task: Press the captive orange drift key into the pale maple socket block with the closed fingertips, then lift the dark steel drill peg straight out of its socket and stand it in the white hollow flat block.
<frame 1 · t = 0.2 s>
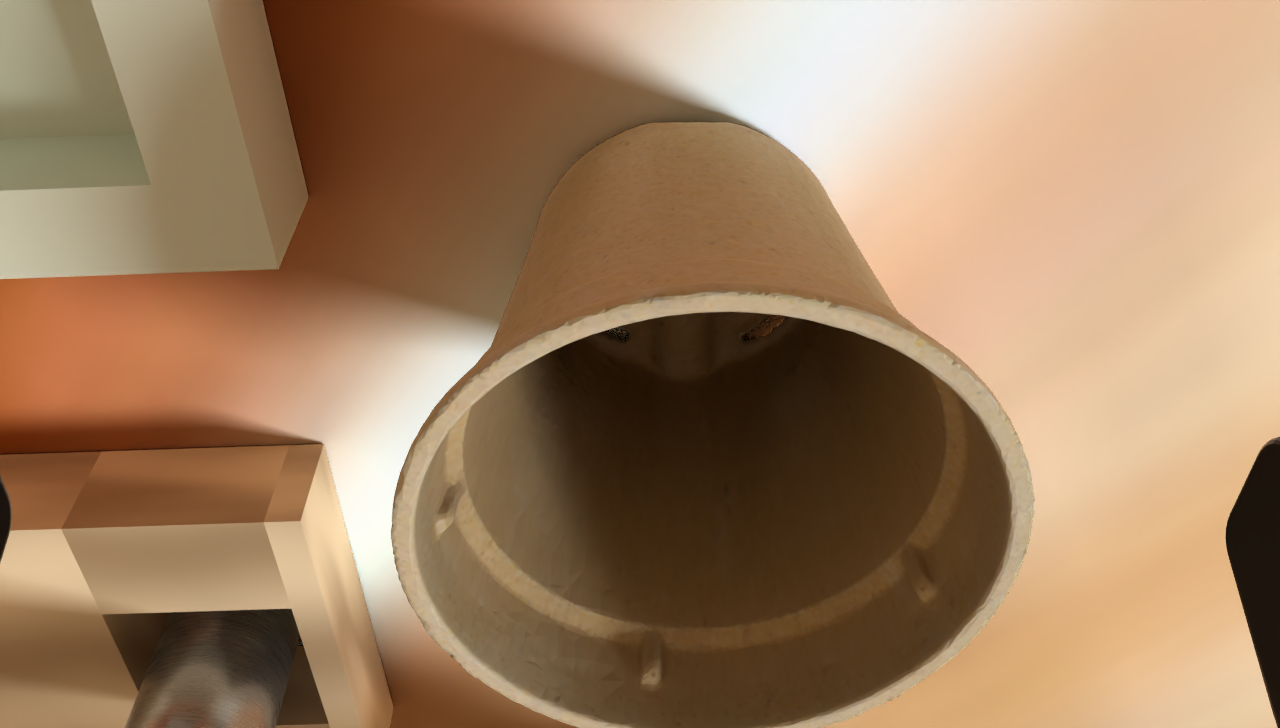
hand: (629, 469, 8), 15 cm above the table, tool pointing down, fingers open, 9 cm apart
socket block: (73, 598, 31), on the table
flower pot: (686, 241, 25), on the table
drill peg: (246, 592, 31), resting in socket block
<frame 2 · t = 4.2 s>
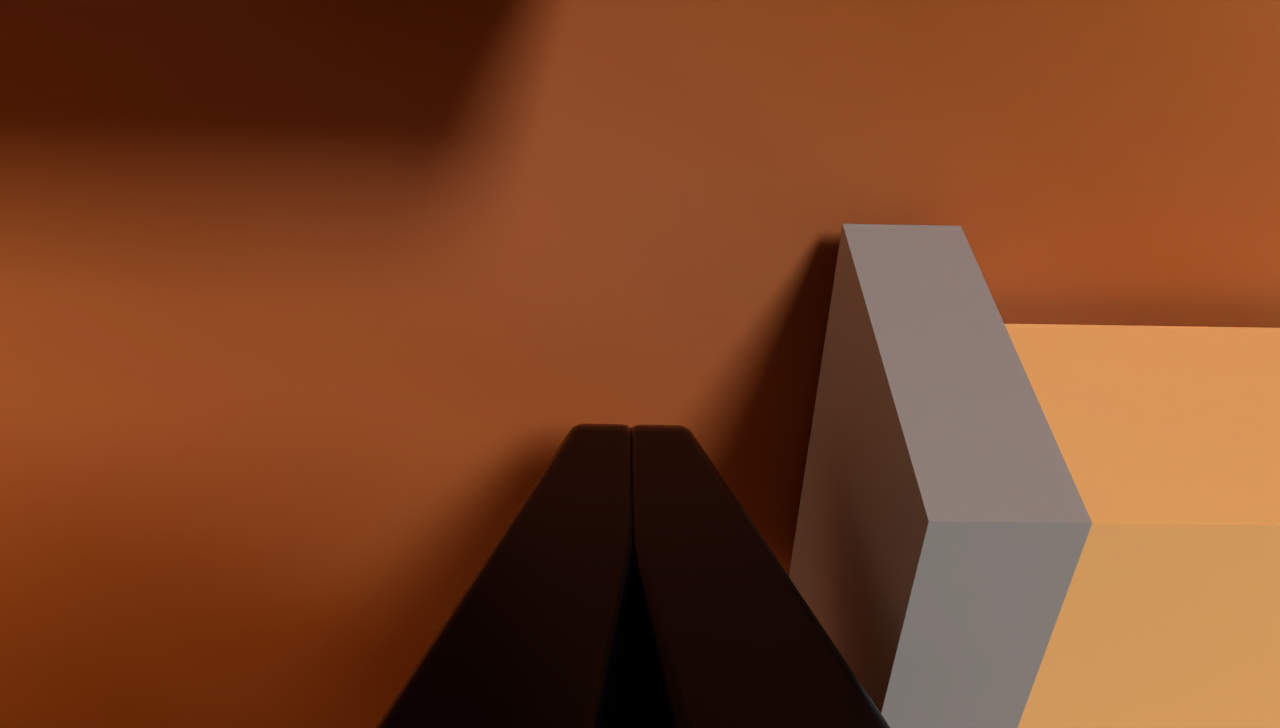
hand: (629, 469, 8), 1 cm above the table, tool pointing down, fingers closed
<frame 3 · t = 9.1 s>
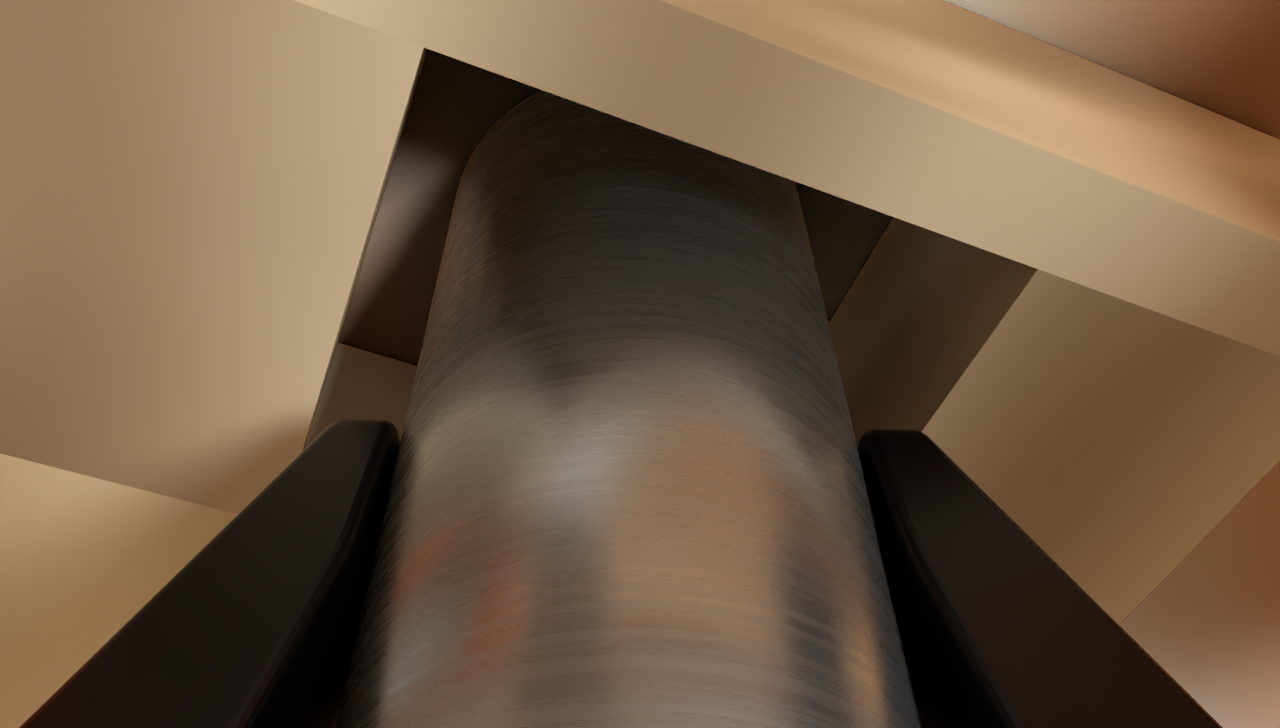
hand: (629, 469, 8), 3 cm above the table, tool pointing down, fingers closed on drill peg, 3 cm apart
socket block: (483, 550, 13), on the table
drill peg: (627, 233, 11), resting in socket block, touching gripper
when the fingers open (5 cm above the table, at t = 13.0 s): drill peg stays where it is, resting on white hollow flat block.
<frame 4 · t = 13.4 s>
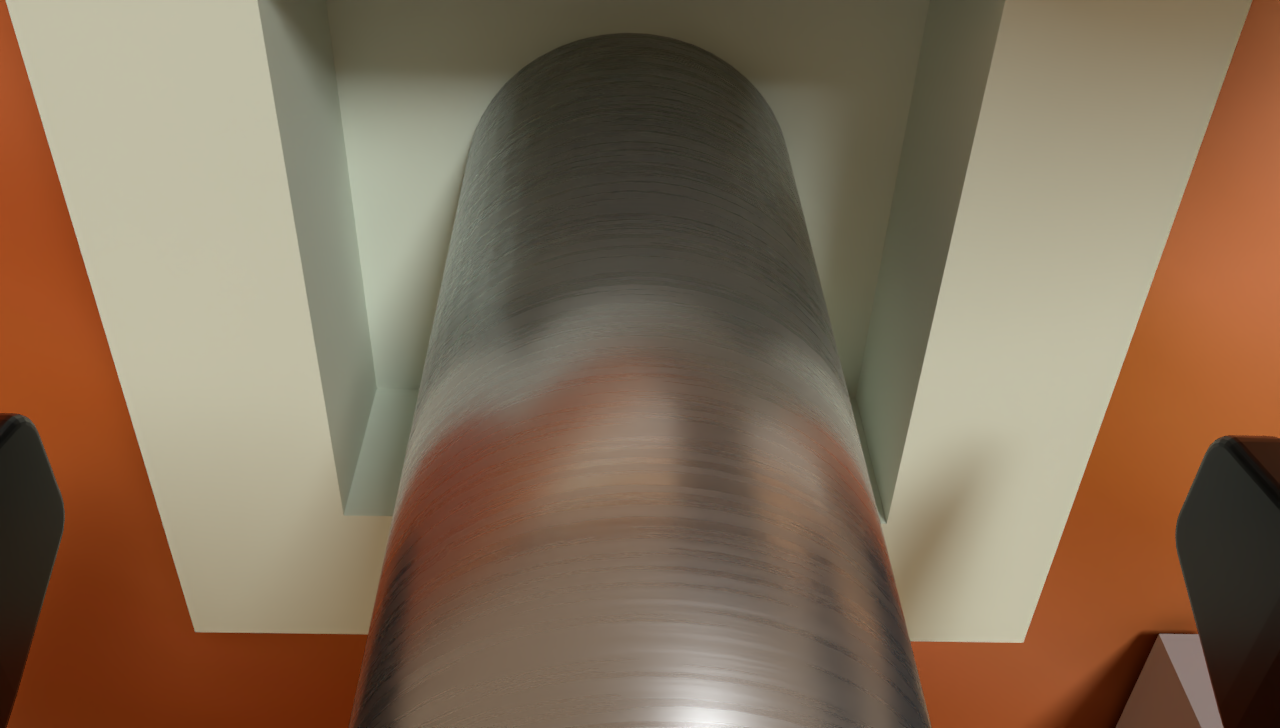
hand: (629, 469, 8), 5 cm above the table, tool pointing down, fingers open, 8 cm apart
white hollow flat block: (623, 152, 12), on the table
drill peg: (628, 188, 12), point 1 cm above the table, touching white hollow flat block
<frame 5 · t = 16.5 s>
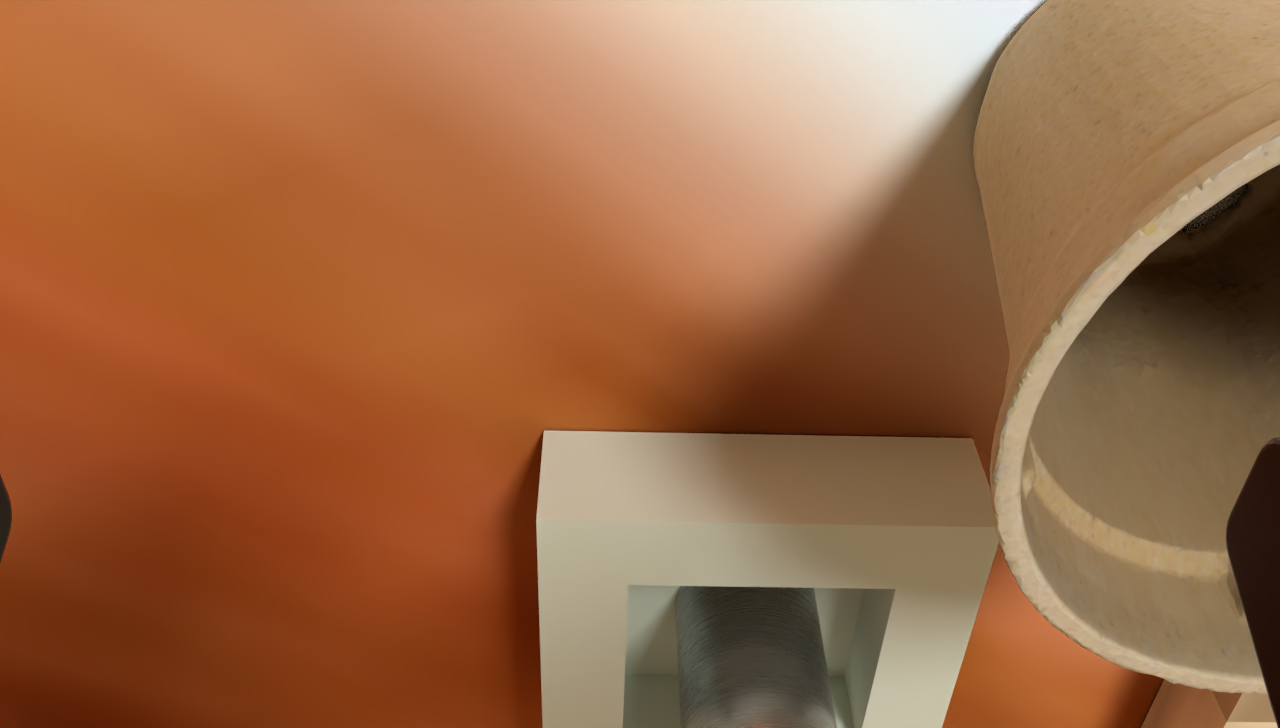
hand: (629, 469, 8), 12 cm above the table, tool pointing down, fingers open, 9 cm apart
white hollow flat block: (741, 580, 28), on the table
flower pot: (1142, 104, 21), on the table
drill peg: (745, 602, 27), point 1 cm above the table, touching white hollow flat block
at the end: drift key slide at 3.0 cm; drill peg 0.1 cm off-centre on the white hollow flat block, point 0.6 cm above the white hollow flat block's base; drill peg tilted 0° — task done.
